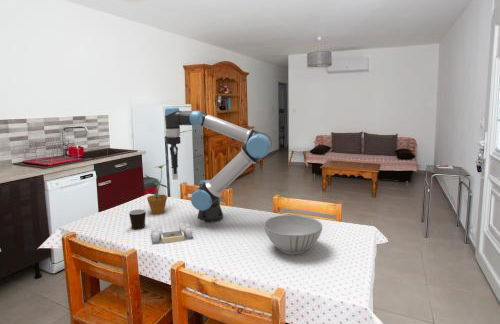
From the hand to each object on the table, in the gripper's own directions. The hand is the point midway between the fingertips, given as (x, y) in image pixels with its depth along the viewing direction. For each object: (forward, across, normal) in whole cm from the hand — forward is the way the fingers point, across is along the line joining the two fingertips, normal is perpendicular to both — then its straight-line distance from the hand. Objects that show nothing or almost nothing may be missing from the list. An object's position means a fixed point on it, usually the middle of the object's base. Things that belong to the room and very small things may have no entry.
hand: (175, 179), depth 187 cm
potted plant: (+27, -27, -9) cm, 39 cm away
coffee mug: (+27, -2, -20) cm, 33 cm away
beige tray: (+26, +19, -5) cm, 33 cm away
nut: (+25, +22, -5) cm, 34 cm away
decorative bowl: (+27, +51, +47) cm, 74 cm away
